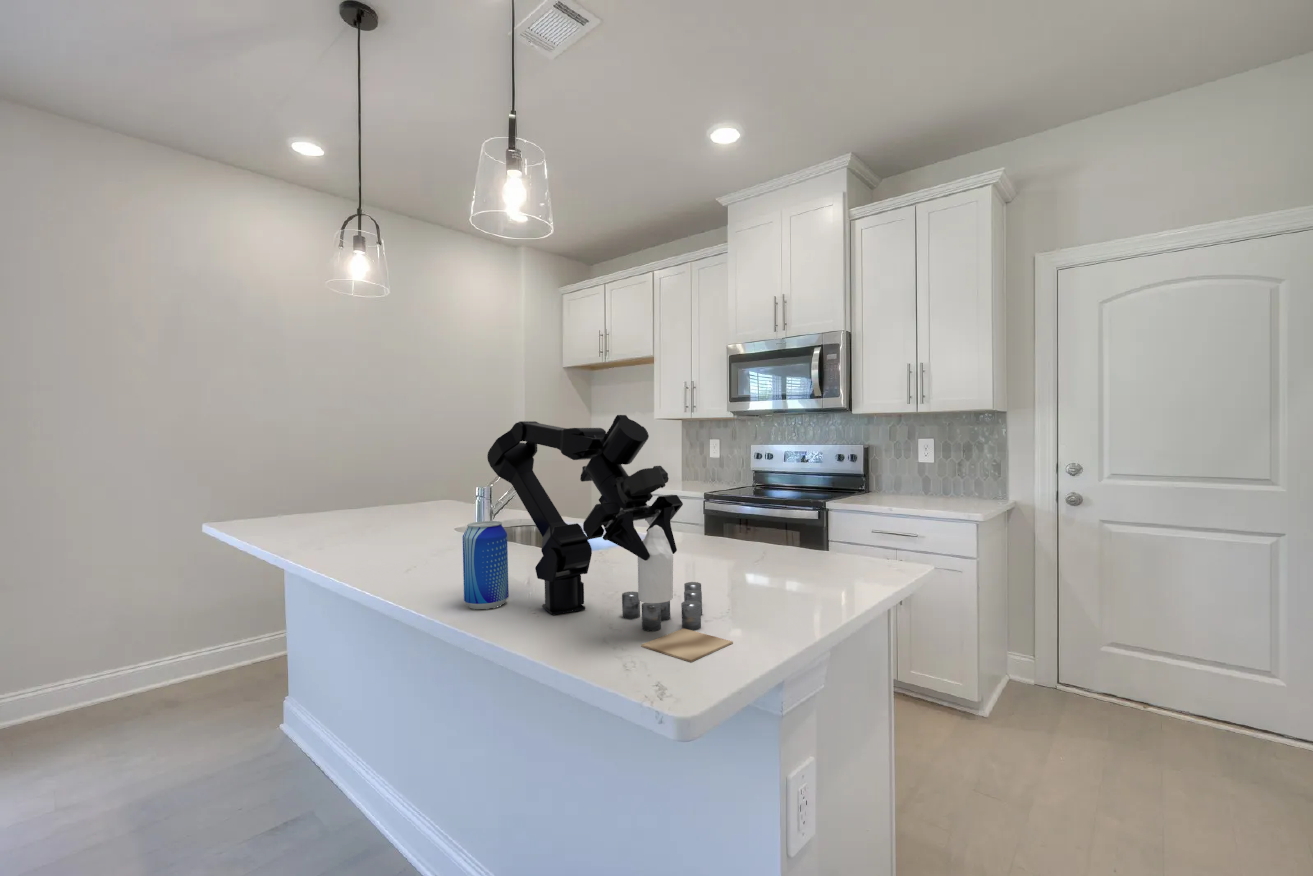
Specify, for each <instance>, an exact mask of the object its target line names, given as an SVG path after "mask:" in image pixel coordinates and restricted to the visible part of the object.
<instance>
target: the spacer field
mask: <svg viewBox="0 0 1313 876" xmlns="http://www.w3.org/2000/svg"><path fill="white" fill-rule="evenodd" d="M683 587H684V588H683V589H684V591H683V600H684V601H682V602H681V603H680V604H681V629H683V628H684V629H688V630H692V631H696V630H700V629H701V628H702V616H703V596H702V595H703V594H702V593H703V592H702V583H700V582H699V581H697V582H696V581H690V582H685V583H684V585H683ZM621 605H622V606H621V608H622V609H621V611H622V612H621V613H622V618H623V619H627V620H633V619H634V620H635V619H638V618H640V617H641V630H643V632H644V631H645V632H657V631H660V630H661V629H662V622H665V621H669V620H671V600H670V601H668V602H662V603H644V602H642V603H641V601H640V600H639V599H638V591H625V592H622V594H621Z"/></svg>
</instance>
